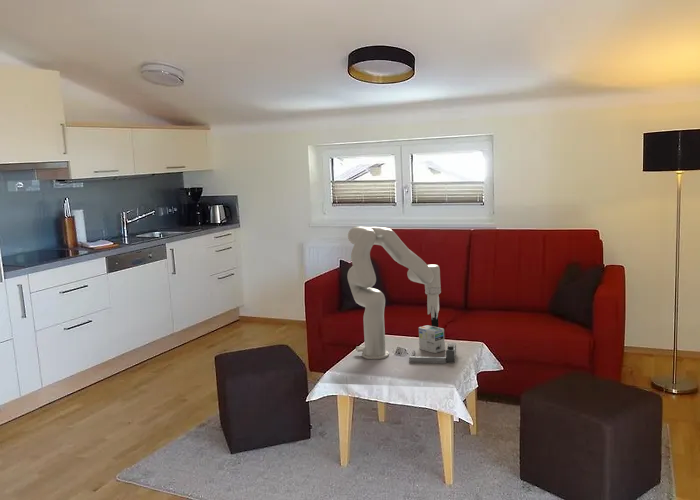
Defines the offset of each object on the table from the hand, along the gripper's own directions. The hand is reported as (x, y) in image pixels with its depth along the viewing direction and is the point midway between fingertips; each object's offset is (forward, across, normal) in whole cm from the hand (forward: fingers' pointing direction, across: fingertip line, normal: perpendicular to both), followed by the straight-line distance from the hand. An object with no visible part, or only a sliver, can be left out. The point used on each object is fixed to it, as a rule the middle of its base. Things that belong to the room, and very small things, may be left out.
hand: (435, 326), depth 302 cm
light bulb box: (+8, +12, -1) cm, 14 cm away
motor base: (+8, +24, +1) cm, 25 cm away
